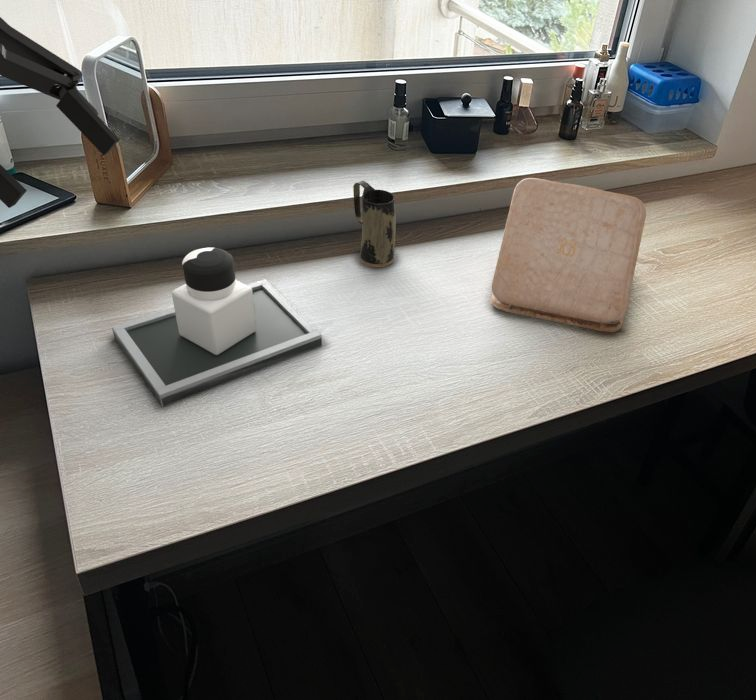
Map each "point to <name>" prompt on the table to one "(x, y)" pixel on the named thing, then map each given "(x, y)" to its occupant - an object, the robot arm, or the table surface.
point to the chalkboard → (202, 368)
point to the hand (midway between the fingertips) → (68, 171)
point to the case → (568, 254)
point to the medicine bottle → (213, 301)
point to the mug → (376, 225)
